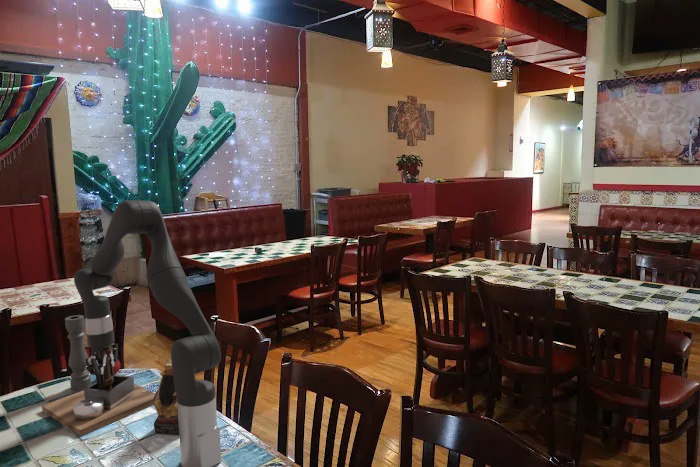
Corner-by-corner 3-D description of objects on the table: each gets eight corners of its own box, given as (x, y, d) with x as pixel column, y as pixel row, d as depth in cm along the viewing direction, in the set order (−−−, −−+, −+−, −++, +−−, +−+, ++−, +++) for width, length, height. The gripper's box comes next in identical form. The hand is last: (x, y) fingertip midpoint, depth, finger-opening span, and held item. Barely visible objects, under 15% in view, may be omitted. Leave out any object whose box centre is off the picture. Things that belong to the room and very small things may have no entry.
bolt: (114, 396, 152) (109, 350, 150) (96, 399, 150) (91, 353, 148) (116, 389, 157) (112, 344, 155) (99, 391, 155) (94, 347, 153)
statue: (149, 434, 137) (144, 367, 134) (166, 420, 145) (161, 356, 142) (187, 438, 134) (182, 370, 132) (203, 424, 142) (198, 359, 139)
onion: (103, 374, 177) (102, 353, 176) (121, 371, 180) (119, 351, 178) (103, 380, 172) (101, 359, 171) (121, 377, 174) (119, 356, 173)
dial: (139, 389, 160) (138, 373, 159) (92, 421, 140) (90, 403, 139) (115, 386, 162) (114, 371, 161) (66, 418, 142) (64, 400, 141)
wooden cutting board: (160, 401, 156) (160, 395, 156) (80, 436, 136) (80, 429, 136) (119, 381, 171) (119, 376, 171) (42, 411, 151) (41, 405, 151)
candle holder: (67, 389, 166) (59, 319, 162) (84, 382, 171) (77, 314, 168) (78, 393, 163) (71, 321, 159) (95, 385, 168) (88, 316, 165)
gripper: (97, 337, 143) (103, 391, 145) (123, 322, 157) (129, 372, 160) (73, 337, 144) (80, 392, 146) (101, 322, 158) (107, 372, 160)
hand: (105, 381), depth 153 cm, fingers closed on bolt, 4 cm apart
